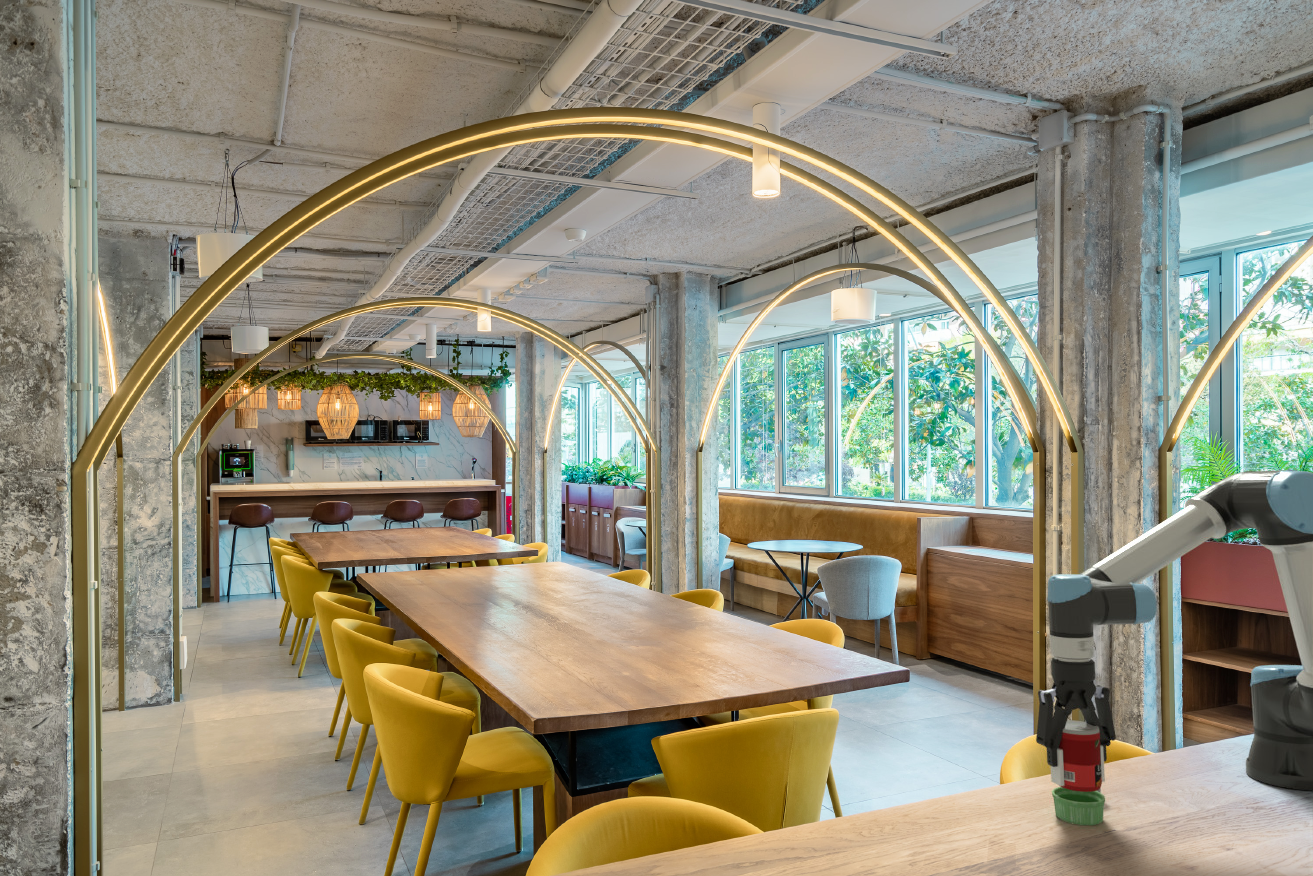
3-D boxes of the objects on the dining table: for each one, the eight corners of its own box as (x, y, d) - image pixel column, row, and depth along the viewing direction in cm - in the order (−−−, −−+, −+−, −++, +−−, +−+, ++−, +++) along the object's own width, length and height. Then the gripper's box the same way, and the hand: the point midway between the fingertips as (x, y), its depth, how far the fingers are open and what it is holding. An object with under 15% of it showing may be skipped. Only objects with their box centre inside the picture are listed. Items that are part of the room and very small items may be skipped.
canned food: (1107, 793, 161) (1104, 731, 161) (1060, 791, 162) (1057, 730, 163) (1095, 779, 168) (1092, 720, 169) (1050, 777, 170) (1048, 719, 171)
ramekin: (1051, 822, 163) (1050, 798, 163) (1054, 806, 171) (1053, 783, 171) (1106, 830, 159) (1104, 805, 159) (1106, 813, 167) (1105, 789, 167)
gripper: (1035, 665, 161) (1041, 793, 160) (1134, 658, 165) (1140, 782, 164) (1011, 657, 168) (1016, 780, 167) (1106, 650, 172) (1112, 770, 171)
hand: (1078, 781), depth 165 cm, fingers closed on canned food, 8 cm apart
